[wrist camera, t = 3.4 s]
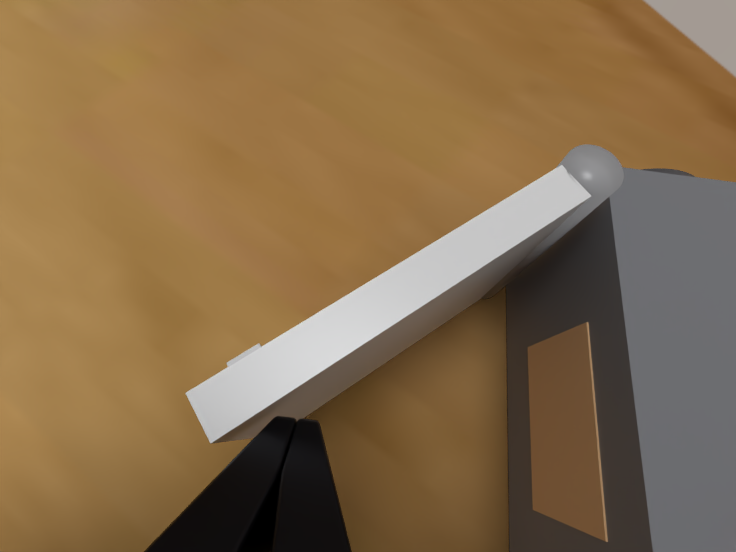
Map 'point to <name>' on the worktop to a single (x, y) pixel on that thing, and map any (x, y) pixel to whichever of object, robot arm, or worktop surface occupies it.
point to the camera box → (627, 375)
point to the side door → (402, 302)
